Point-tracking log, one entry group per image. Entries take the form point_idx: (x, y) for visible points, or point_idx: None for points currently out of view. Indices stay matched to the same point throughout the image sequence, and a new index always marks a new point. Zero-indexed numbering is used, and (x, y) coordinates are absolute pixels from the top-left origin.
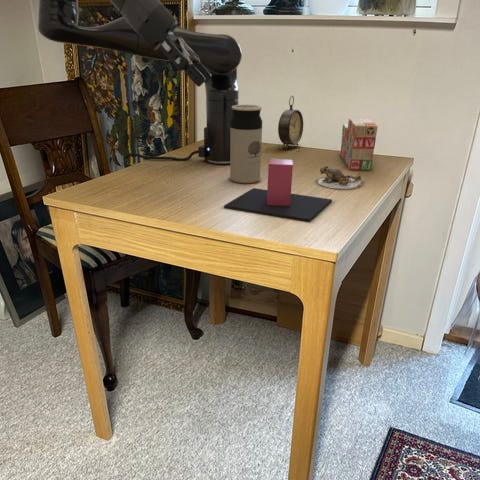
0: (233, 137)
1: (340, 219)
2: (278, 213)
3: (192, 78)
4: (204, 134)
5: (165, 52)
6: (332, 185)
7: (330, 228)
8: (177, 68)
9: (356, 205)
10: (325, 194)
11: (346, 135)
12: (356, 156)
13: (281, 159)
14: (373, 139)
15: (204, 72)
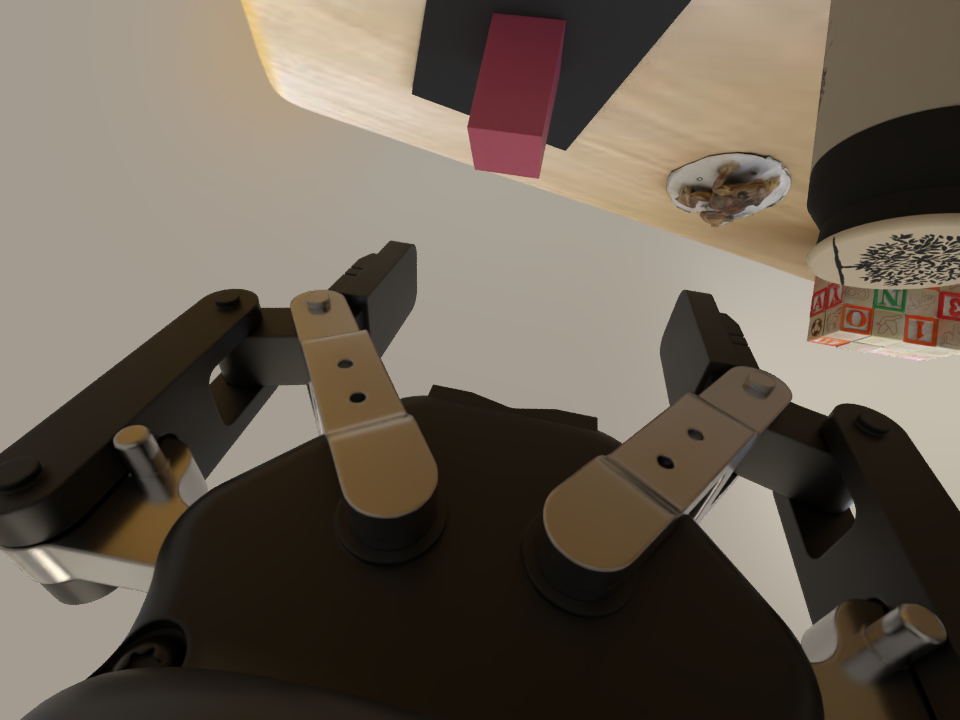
0: (911, 68)
1: (452, 136)
2: (426, 37)
3: (347, 274)
4: None
5: (60, 430)
6: (697, 172)
7: (393, 113)
8: (198, 301)
9: (546, 172)
10: (630, 146)
11: None
12: None
13: (534, 159)
14: (814, 312)
15: (674, 361)
